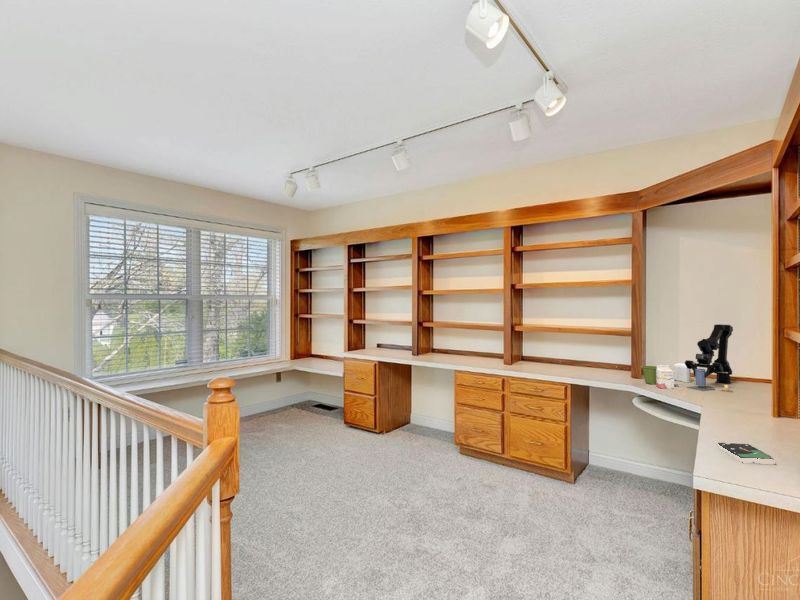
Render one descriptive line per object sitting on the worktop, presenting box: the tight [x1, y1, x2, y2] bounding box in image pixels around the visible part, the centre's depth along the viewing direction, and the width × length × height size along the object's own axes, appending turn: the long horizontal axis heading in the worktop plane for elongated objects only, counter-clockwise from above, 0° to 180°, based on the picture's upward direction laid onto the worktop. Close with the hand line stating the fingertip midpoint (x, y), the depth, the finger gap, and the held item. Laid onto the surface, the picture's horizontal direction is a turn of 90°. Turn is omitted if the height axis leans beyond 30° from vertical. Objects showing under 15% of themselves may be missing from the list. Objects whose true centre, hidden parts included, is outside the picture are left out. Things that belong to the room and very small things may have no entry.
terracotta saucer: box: [718, 384, 735, 394], centre depth 238 cm, size 7×7×5 cm
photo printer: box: [673, 362, 692, 383], centre depth 275 cm, size 10×4×12 cm, turn 17°
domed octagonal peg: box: [695, 368, 707, 387], centre depth 247 cm, size 5×5×10 cm
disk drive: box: [717, 442, 774, 460], centre depth 145 cm, size 10×3×15 cm
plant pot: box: [640, 365, 657, 385], centre depth 271 cm, size 12×12×11 cm
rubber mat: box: [686, 385, 716, 392], centre depth 247 cm, size 10×10×2 cm
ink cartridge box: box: [656, 364, 675, 390], centre depth 256 cm, size 9×5×15 cm, turn 77°
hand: (699, 376), depth 246 cm, fingers closed on domed octagonal peg, 5 cm apart
